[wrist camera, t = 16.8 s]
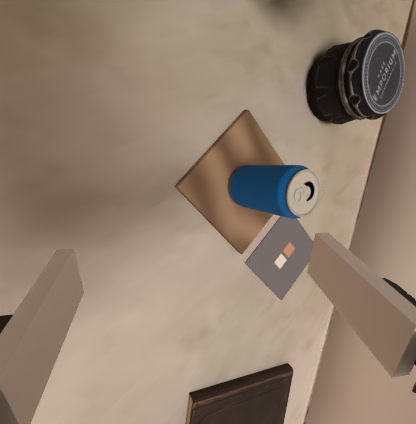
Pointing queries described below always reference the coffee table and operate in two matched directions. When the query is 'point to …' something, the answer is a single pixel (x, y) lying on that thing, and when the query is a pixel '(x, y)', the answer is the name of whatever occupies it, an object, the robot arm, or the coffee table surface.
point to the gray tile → (281, 255)
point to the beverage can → (277, 189)
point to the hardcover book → (244, 399)
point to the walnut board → (221, 177)
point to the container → (357, 79)
